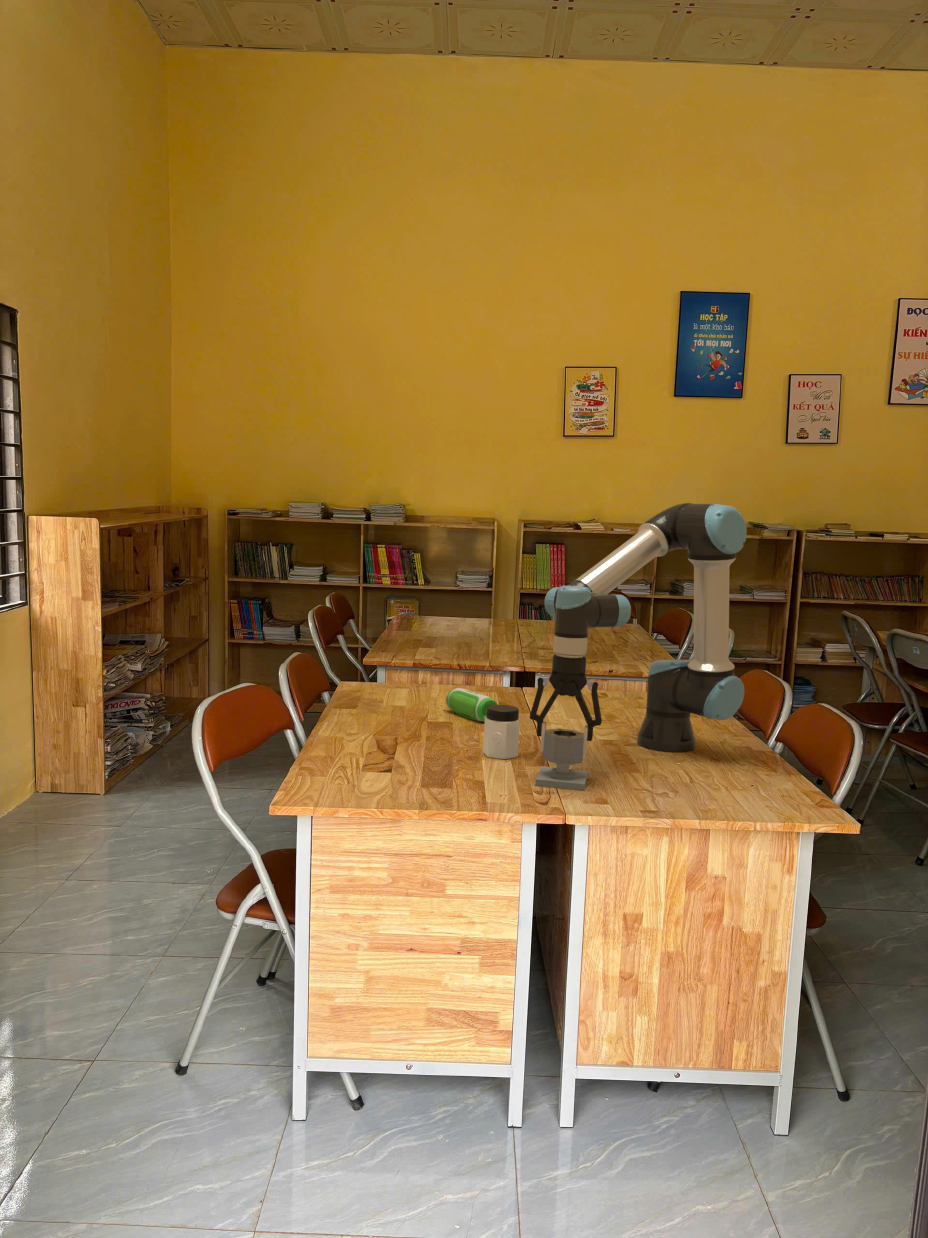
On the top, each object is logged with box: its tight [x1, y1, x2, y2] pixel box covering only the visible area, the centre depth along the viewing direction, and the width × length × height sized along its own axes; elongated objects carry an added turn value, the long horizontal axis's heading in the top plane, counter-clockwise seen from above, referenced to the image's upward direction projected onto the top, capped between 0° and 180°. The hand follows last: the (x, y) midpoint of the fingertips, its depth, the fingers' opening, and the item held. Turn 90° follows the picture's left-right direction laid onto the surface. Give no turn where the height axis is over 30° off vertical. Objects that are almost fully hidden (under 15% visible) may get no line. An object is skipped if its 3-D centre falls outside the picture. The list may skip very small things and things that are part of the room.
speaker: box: [445, 687, 498, 723], centre depth 285 cm, size 18×7×8 cm, turn 35°
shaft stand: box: [534, 763, 589, 791], centre depth 224 cm, size 11×11×10 cm
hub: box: [542, 727, 584, 766], centre depth 224 cm, size 9×9×6 cm
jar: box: [482, 704, 521, 760], centre depth 245 cm, size 9×8×12 cm
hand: (563, 752), depth 224 cm, fingers closed on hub, 9 cm apart
